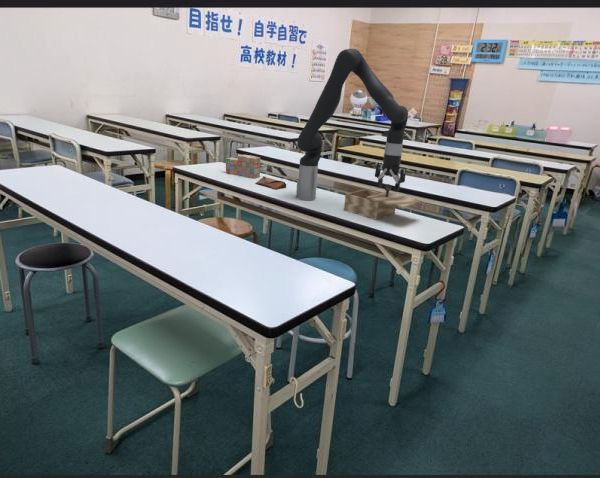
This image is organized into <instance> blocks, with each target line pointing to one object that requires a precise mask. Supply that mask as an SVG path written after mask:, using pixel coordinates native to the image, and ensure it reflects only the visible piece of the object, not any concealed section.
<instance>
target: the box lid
mask: <svg viewBox="0 0 600 478" xmlns="http://www.w3.org/2000/svg"><path fill="white" fill-rule="evenodd" d="M384 190H385V191H384V192H379V193H380V194H376V195H372V196H368V197H367V198H366V199H368V200H372V201H376V202H379V203H383V204H387V205H391V206H394V207H396V208H398V209H402V210H403V209H406V208H411V207H413V206H416V205H419V204H422V203H423V199H417V198H414V197H409V196H405V195H401V194H397V193H395V192H394V193H393V192H390V191H391V190H392V185H391V184H386V185H384Z"/></svg>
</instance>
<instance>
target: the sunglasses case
mask: <svg viewBox="0 0 600 478" xmlns="http://www.w3.org/2000/svg"><path fill="white" fill-rule="evenodd" d="M254 185H258V186H260V187H261V186H262V187H265V188H268V189H272V190H275V191H277V190H282V189H286V188H287V183H286V182H284V181H282V180H278V179H273V178H271V177H267V176H262V177H261V178H259V180H257V182H255V183H254Z"/></svg>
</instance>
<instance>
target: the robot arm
mask: <svg viewBox="0 0 600 478" xmlns="http://www.w3.org/2000/svg"><path fill="white" fill-rule="evenodd" d="M351 72H352V73H354V74H355V75H356V76H357V77H358V78H359V79H360V81H361V82H362V84H363V85H364V87H365V89H366V91H367V92H368V95H369V96H370V98H371V99H372V100H373V101H374V102H375V103H376V104H377V105H378V106H379V108H381V110H382V112H383V114H384V116H386V118H387V119H388V120H389V122H390V128H388V131H387V134H386V142H385V147H384V153H383V159H382V163H383V164H382V163H378V164H376V166H375V172H374V177H375V178H377V187H378V188H382V187H383V182H384V178H385V177H390V178H393V180H394V181H395V184H394V193H395V192H399V190H400V186H401V184H402V183H405V182H406V172H407V170H406V168H401V167H400V165H401V160H402V156H403V155H402V154H403V144H404V138H405V137H404V135H405V131H406V127H407V124H408V118H409V112H408V109H407V108H406V107H405V106H403V105H399V103H398V102H397V100H395V99H394V95H393V94H392V92H391V91H390V90H389V89H388V88H387V87H386V86H385V85H384V84H383V82H382V81H380V79H379V78H378V76H377V75H376V74H375V72H374V71H373V70H372V69H371V67H370V66H369V64H368V62H367V61H366V59H365V57H364V56H363V54H362V53H361V51H360V50H358V49H356V48H346V49H343V50H341V51H340V52H339V53H338V54H337V56H336V58H335V61H334V64H333V66H332V70H331V73H330V76H329V77H328V79H327V81H326V83H325V85H324V88H323V90H322V91H321V92H320V95H319V97H318V99H317V101H316V104H315V106H314V108H313V110H312V112H311V114H310V116H309V118H308V120H307V122H306V124H305V125H304V127H303V128H302V131H301V132H300V134H299V135H298V137H297V141H296V142H297V147H298V149H299V150H300V152H301V151H302V152H305V153H304V155H303V156H302V157H301V158H299V169H298V171H299V172H298V178H296V180H297V181H296V192H295V193H296V194H295V196H296V198H298V199H299V200H302V201H314V200H316V199H317V198H316V196H317V184H318V172H319V171H318V170H319V161H321V160H320V159H321V155H322V154H321V153H322V146H323V138H322V136H321V134H320V133H319V130H320V129H321V127H323V125H324V124H325V123H327V122H328V121H329V120H330V119H331V118H332V116H333V115H334V114H335V112H336V110H337V108H338V106H339V104H340V102H341V98H342V91H343V87H344V84H345V82H346V80H347V79H348V77H349V75H350V74H351ZM381 170H382V171H381Z"/></svg>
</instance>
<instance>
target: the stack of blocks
mask: <svg viewBox="0 0 600 478" xmlns="http://www.w3.org/2000/svg"><path fill="white" fill-rule="evenodd" d="M225 174H226V175H232V176H236V177H242V178H246V179H247V178H248V179H253V180H255V179H260V177H261V157H260V156H259V157H258V156H255V155H250V154H249V155H248V154H240V155H237V157H232V156H231V157H227V158H226V157H225Z"/></svg>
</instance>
